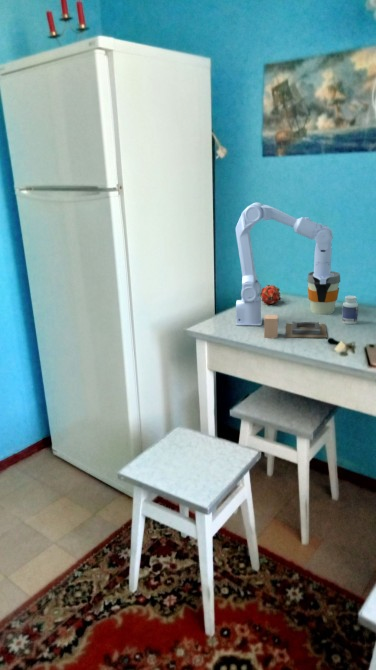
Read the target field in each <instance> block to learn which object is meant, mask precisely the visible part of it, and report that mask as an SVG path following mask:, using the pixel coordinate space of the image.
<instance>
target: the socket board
mask: <svg viewBox="0 0 376 670" xmlns="http://www.w3.org/2000/svg"><path fill="white" fill-rule="evenodd" d="M284 337H285V339H322V340H323V339H326V340H327V339H328V333H327V327H326V323H320V322H319V321H292V323H289V322H288V323H287V322H286V323H285V336H284Z"/></svg>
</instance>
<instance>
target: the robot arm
mask: <svg viewBox="0 0 376 670" xmlns="http://www.w3.org/2000/svg"><path fill="white" fill-rule="evenodd" d="M261 220H262V222H263V221H270V220H273V221H276V222H278V223H281V224H283V225H286V226H289V227H291V228H293V230H294V233H296V234H298V235H300V236H302V237H305V238H307V239H309V240H314V242H315V248H314V257H313V258H314V259H313V261H314V262H313V265H314V266H313V272H314V273H313V276H314V277H313V279H314V281H315V282H314V285H315V287H316V291H317V296H318V302H325V299H326V295H327V291H328V289H329V287H330V286H331V283H327V281H328V279H329V277H331V276H334V274H333V273H330V272H331V271H332V268H331V267H332V266H331V265H332V251H333V250H332V249H333V248H332V245H333V244H332V241H333V240H334V239H333V238H334V237H333V230H332V229H331V227H329V226H328V225H323V223H321V222H319V223H318V222H315V221H313V220H311V219H310V217H308V216H306V217H303V216H301V217H299V218H296V217H294V216H293V215H290V214H288V213H286V212H284V211H281V210H280V209H278V208H275V207H273V206H271V205H268V204H263V203H261V202H258V201H257V202H253V203H251V204H250V205H248V206H247V207H246V208H244V210H243V211H242V212H241V215H240V217H239V219H238V222H237V224H236V226H235V236H236V243H237V248H238V249H237V250H238V255H239V262H240V269H241V275H242V277H241V279H242V280H241V291H240V297H241V299H236V303H235V320H236V322H235V325H236V326H260V327H261V326H262V324H263V318H262V298H261V297H260V295H259V294H261V290H262V285H261V283H260V281H259V279H258V276H257V273H256V268H255V262H254V261H255V260H254V254H253V246H252V239H251V233H250V231H251V230H252V229H253V227H255V225H256V224H257V223H259V222H260V221H261Z"/></svg>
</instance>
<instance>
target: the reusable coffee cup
mask: <svg viewBox="0 0 376 670" xmlns="http://www.w3.org/2000/svg"><path fill="white" fill-rule="evenodd" d="M313 273H314V271H311V272H308V273H307V279H306V281H307V284H308V285H307V294H308V295H307V296H308V300H309V305H310V306H309V307H310V312H312V313H313V314H316V315H330V314H333V313H334V311H335V308H336V302H337V301H338V298H339V292H340V287H339V286H340V283H341V274H340V272H337V271H334V270H331V272H330V273H333V274H334V276H331V277H329V279H328V281H327V283H331V286H330V287H329V289H328V291H327V295H326V299H325V302H318V296H317V291H316V287H315V285H314V282H315V281H314V279H313V277H314V276H313Z"/></svg>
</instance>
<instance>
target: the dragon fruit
mask: <svg viewBox="0 0 376 670" xmlns="http://www.w3.org/2000/svg"><path fill="white" fill-rule="evenodd" d="M259 294H260V295H259V296H260V298H261V302H263V303H264V304H265V305H266V306H269V305H271V304H272V305H273V304H277V303H278V302H279V301H281V299H282V297H281V293H280V287H278V286H277V287H276V285H274V284H272V285H270V284H267V285H266V286H265V287H263V288H261V291H260V293H259Z"/></svg>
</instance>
